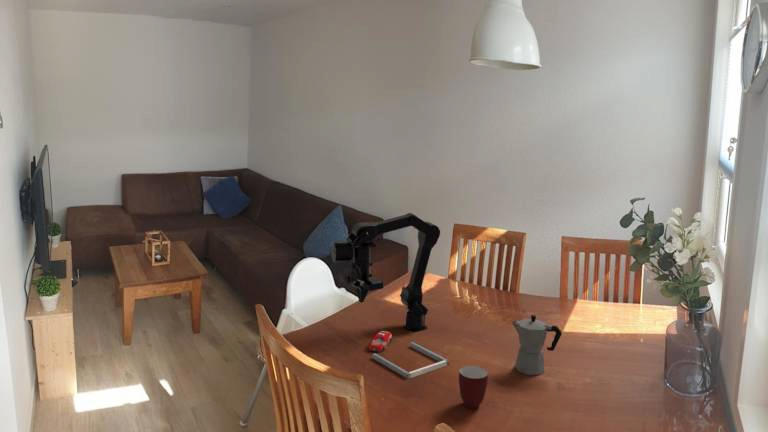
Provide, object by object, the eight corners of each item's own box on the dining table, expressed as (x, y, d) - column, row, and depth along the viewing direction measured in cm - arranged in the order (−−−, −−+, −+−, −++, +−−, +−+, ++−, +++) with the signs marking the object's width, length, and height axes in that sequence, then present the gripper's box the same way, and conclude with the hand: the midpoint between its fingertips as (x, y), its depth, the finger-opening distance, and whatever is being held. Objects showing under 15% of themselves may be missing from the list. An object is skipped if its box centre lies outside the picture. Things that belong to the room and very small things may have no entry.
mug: (463, 392, 185) (465, 360, 183) (490, 397, 182) (492, 365, 180) (454, 408, 175) (455, 375, 173) (482, 414, 172) (484, 380, 170)
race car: (381, 355, 210) (381, 343, 209) (366, 352, 212) (366, 341, 211) (394, 340, 222) (394, 329, 221) (379, 337, 224) (380, 327, 223)
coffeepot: (505, 371, 199) (509, 317, 195) (511, 359, 207) (515, 307, 204) (556, 380, 193) (560, 325, 190) (560, 368, 202) (564, 314, 198)
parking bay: (412, 346, 216) (412, 341, 216) (448, 364, 203) (449, 360, 202) (372, 358, 206) (372, 354, 206) (408, 378, 192) (408, 374, 192)
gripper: (327, 257, 222) (327, 299, 226) (358, 269, 208) (357, 314, 211) (353, 252, 229) (353, 293, 232) (385, 264, 215) (384, 308, 218)
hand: (361, 302), depth 223 cm, fingers closed
